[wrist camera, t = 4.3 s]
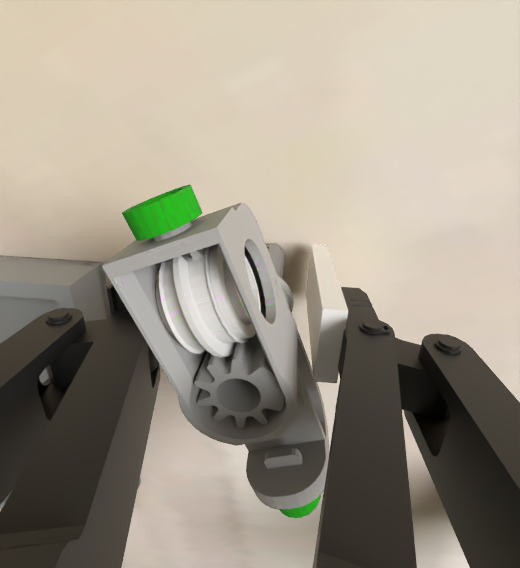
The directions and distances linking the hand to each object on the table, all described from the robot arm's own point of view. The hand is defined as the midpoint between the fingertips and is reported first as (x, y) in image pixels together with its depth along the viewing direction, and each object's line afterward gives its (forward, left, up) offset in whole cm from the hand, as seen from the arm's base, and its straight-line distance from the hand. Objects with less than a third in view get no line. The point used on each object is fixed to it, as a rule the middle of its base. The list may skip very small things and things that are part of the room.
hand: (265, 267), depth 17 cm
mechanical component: (0, 0, -1) cm, 1 cm away
